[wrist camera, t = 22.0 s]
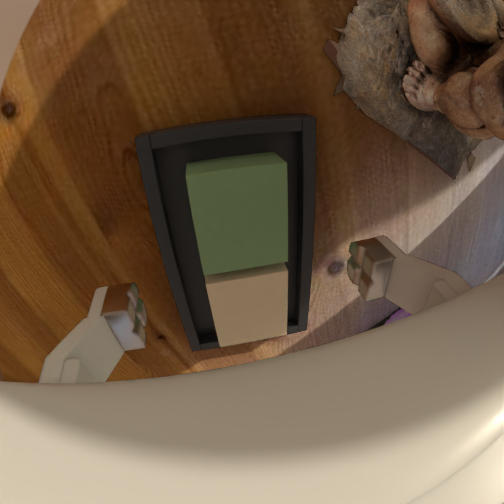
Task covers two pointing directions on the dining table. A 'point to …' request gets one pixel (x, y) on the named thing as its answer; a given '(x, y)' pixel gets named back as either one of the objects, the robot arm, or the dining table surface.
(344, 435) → the robot arm
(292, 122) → the dark serving tray
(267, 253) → the sage pad
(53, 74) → the dining table surface
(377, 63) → the cherub figurine
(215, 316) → the cream pad
